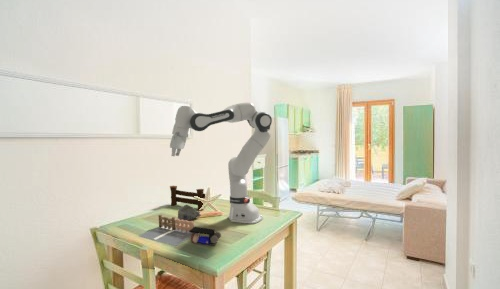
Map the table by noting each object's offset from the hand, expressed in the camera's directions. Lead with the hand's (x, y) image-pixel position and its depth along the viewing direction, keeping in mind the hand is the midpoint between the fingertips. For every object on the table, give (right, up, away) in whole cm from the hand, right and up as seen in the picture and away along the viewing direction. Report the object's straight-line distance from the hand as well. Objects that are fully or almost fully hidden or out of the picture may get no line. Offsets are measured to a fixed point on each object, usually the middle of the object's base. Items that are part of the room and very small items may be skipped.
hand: (175, 156), depth 147 cm
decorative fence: (-4, -41, +42) cm, 59 cm away
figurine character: (+21, -44, -20) cm, 52 cm away
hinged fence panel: (+7, -42, -6) cm, 43 cm away
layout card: (0, -43, -7) cm, 44 cm away
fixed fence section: (-5, -42, 0) cm, 43 cm away
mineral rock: (+4, -42, +15) cm, 45 cm away
